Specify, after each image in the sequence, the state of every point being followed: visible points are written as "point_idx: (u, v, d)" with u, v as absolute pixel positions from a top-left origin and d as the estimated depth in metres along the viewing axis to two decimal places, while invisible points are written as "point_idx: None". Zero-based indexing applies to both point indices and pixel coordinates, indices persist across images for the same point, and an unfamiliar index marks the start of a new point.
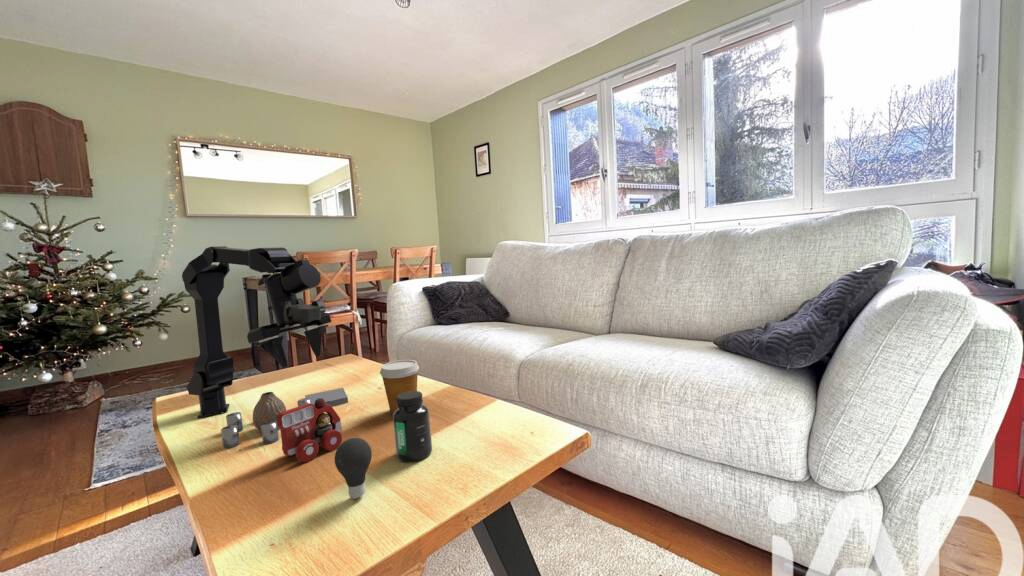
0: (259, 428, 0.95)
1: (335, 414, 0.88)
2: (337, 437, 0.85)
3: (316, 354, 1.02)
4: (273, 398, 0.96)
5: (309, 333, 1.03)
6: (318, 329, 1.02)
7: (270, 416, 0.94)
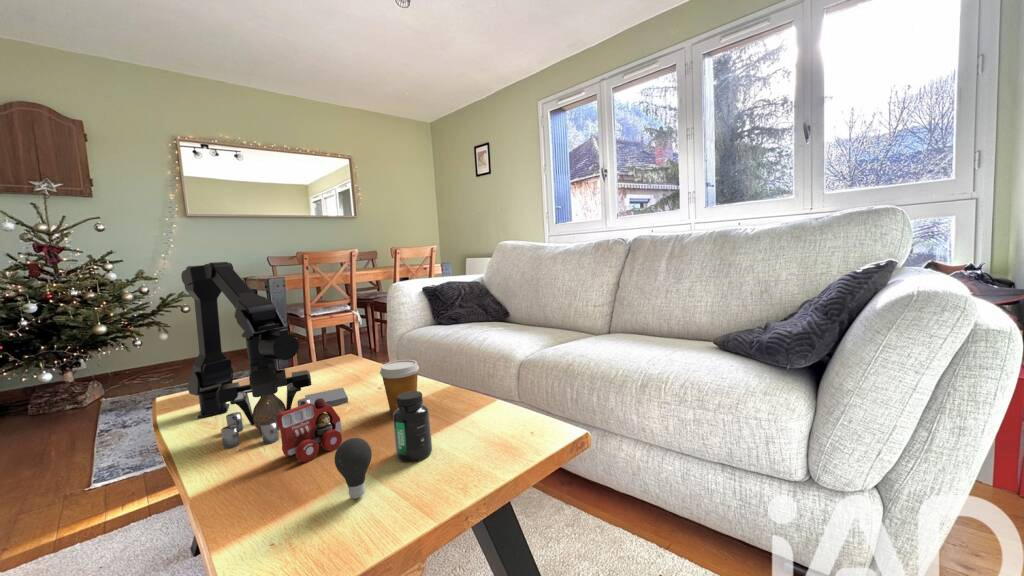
0: (259, 428, 0.95)
1: (335, 414, 0.88)
2: (337, 437, 0.85)
3: None
4: (273, 398, 0.96)
5: None
6: (287, 393, 0.97)
7: (270, 416, 0.94)
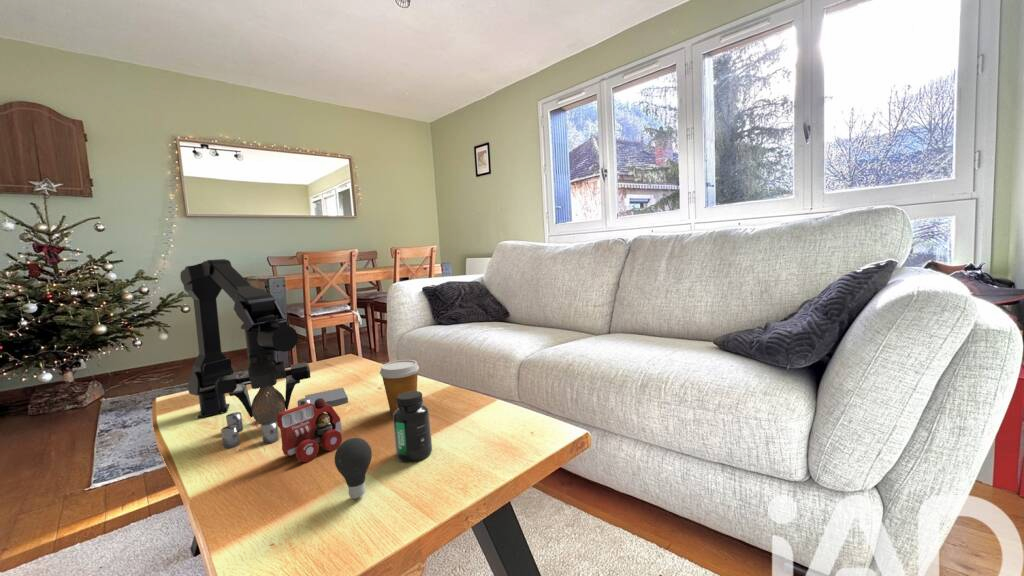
0: (258, 420, 0.94)
1: (335, 414, 0.88)
2: (337, 437, 0.85)
3: None
4: (272, 390, 0.96)
5: None
6: (286, 385, 0.97)
7: (269, 408, 0.94)
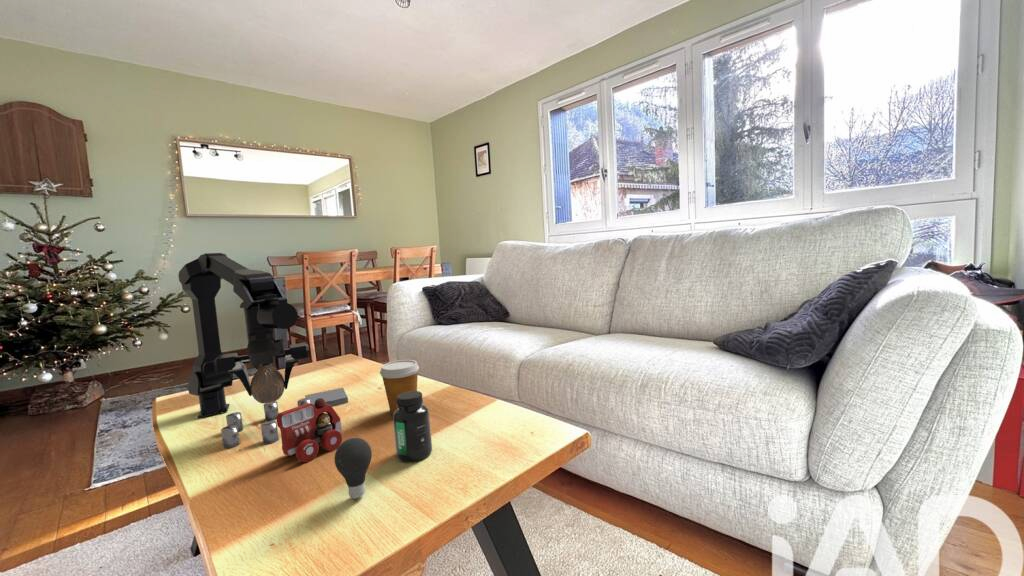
0: (257, 398, 0.94)
1: (335, 414, 0.88)
2: (337, 437, 0.85)
3: None
4: (271, 369, 0.96)
5: None
6: (285, 364, 0.97)
7: (268, 386, 0.94)
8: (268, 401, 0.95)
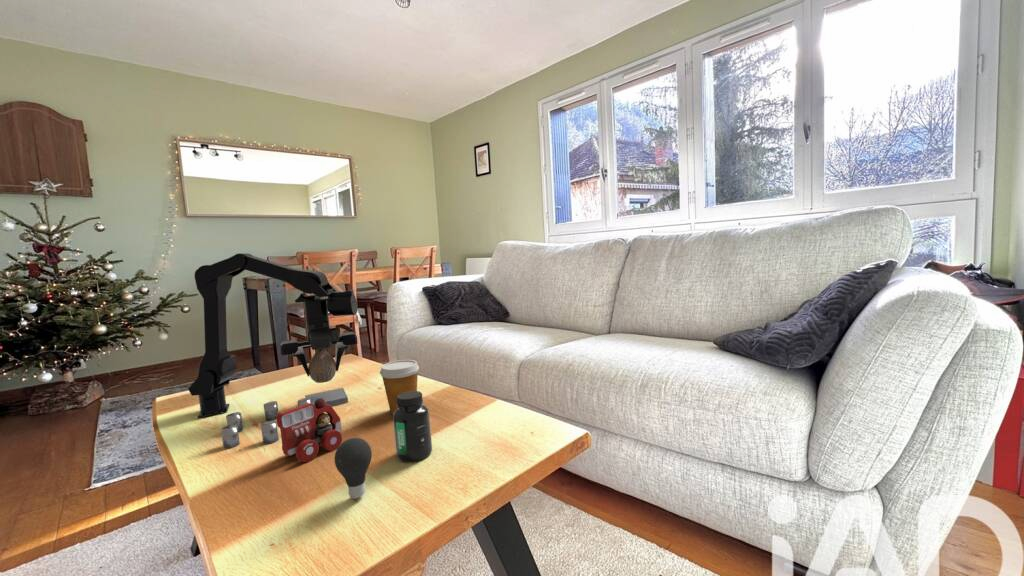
0: (314, 378, 1.11)
1: (335, 414, 0.88)
2: (337, 437, 0.85)
3: (336, 368, 1.15)
4: (326, 354, 1.12)
5: (336, 348, 1.16)
6: (337, 349, 1.13)
7: (324, 368, 1.10)
8: (323, 380, 1.11)
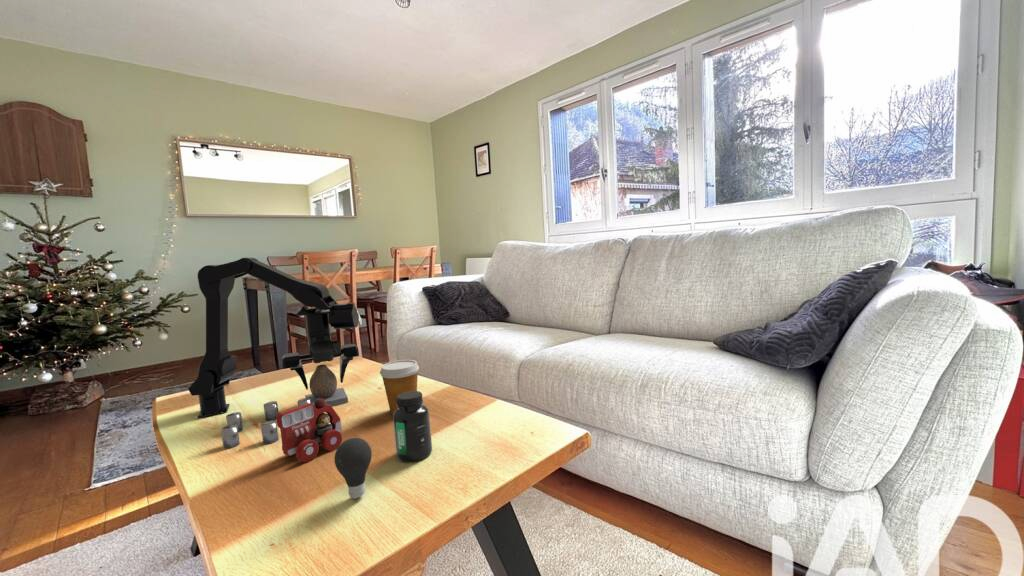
0: (316, 394, 1.11)
1: (335, 414, 0.88)
2: (337, 437, 0.85)
3: (340, 380, 1.16)
4: (326, 370, 1.13)
5: (340, 360, 1.17)
6: (342, 361, 1.14)
7: (325, 384, 1.11)
8: (325, 396, 1.12)
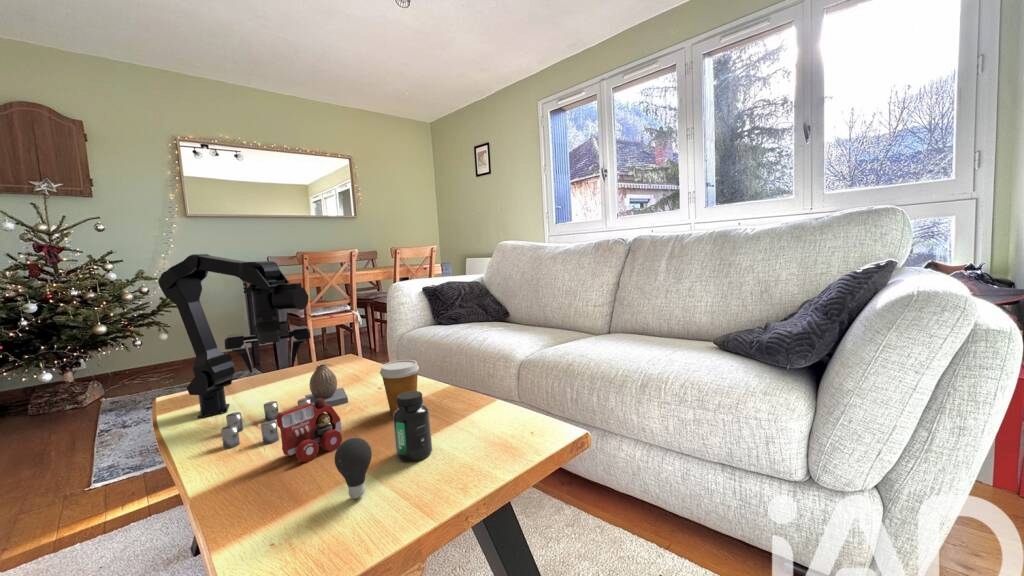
0: (316, 394, 1.11)
1: (335, 414, 0.88)
2: (337, 437, 0.85)
3: (291, 364, 1.10)
4: (327, 370, 1.13)
5: None
6: (292, 344, 1.07)
7: (325, 384, 1.11)
8: (325, 396, 1.12)
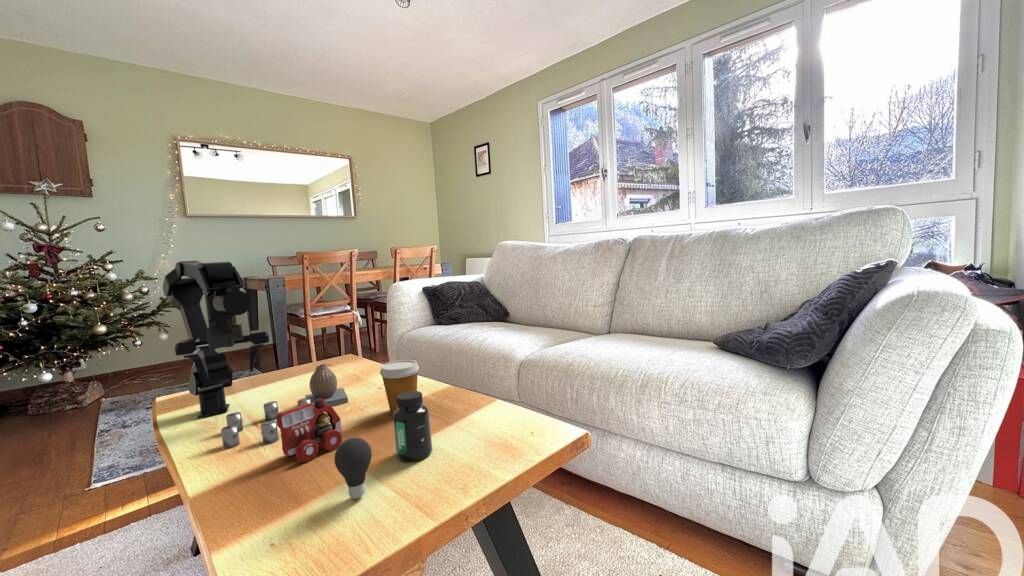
0: (316, 394, 1.11)
1: (335, 414, 0.88)
2: (337, 437, 0.85)
3: (250, 369, 1.04)
4: (327, 370, 1.13)
5: None
6: (250, 348, 1.02)
7: (325, 384, 1.11)
8: (325, 396, 1.12)
